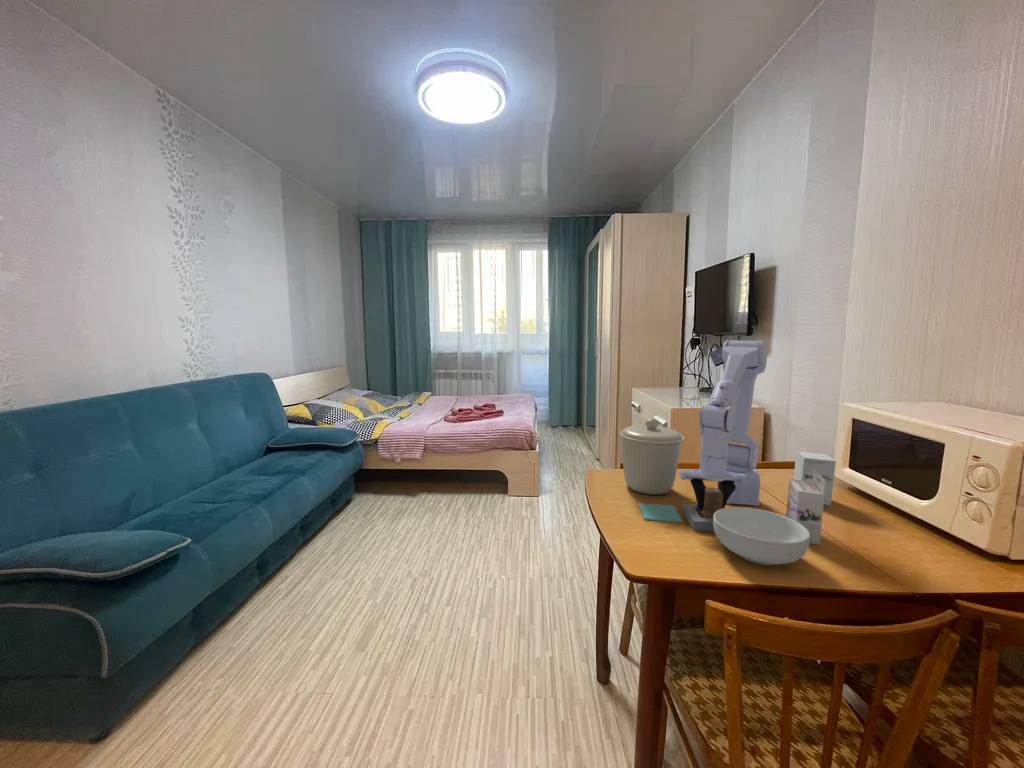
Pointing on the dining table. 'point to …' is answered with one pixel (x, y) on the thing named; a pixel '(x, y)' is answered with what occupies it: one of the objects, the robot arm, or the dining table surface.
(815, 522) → the ink box
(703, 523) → the pocket plate
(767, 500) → the dining table surface
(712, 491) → the walnut block
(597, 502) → the dining table surface
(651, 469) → the canister
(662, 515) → the mat
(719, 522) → the cereal bowl
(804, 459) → the supplement box
